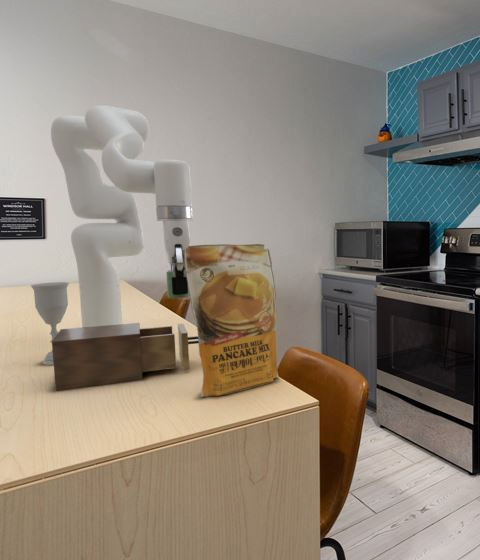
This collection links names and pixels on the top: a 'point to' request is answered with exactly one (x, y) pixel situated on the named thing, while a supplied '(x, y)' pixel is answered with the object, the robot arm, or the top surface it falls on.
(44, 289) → the chalice
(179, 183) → the robot arm
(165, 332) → the drawer
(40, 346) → the top surface
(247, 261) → the pancake mix bag
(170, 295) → the can
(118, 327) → the cabinet
